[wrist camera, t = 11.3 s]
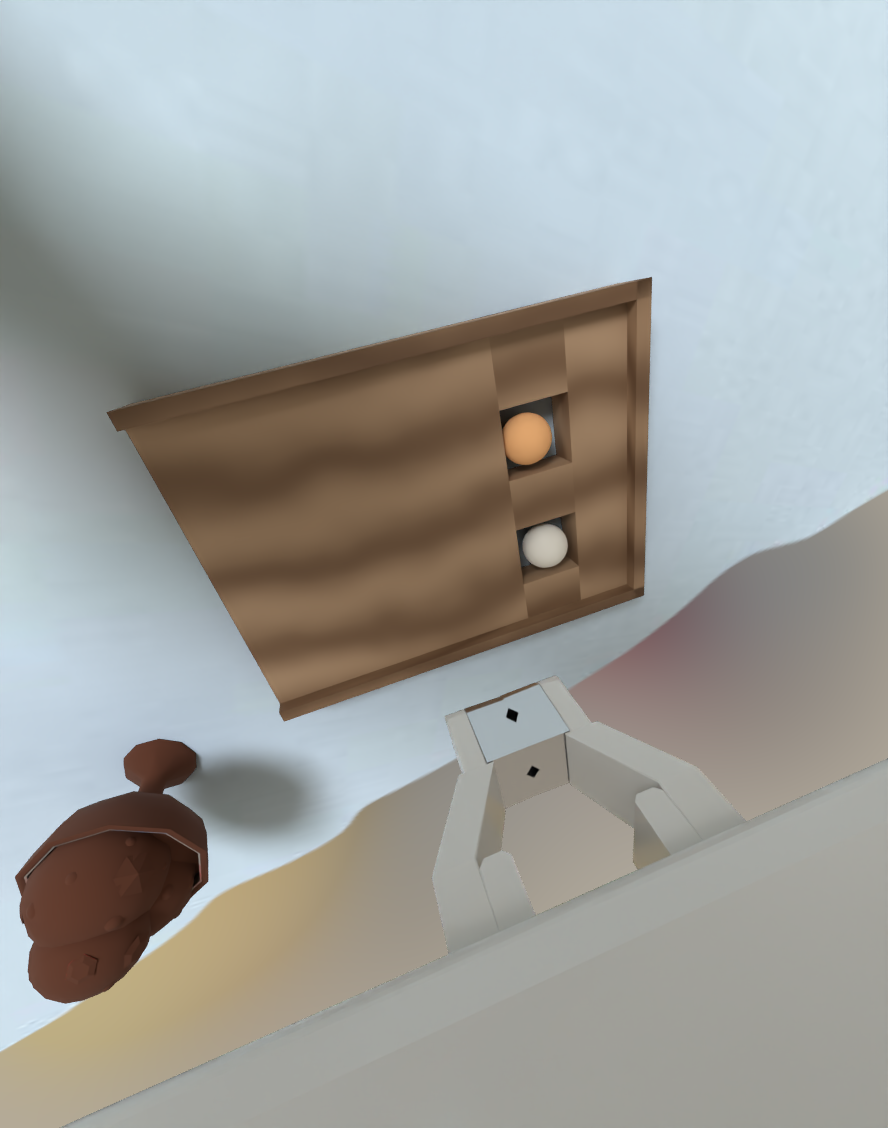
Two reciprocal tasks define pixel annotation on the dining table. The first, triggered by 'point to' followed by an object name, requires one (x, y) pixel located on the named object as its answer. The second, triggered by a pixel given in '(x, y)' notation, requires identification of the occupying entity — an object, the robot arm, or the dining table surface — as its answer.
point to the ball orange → (526, 438)
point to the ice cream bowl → (112, 878)
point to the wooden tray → (412, 491)
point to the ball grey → (545, 545)
